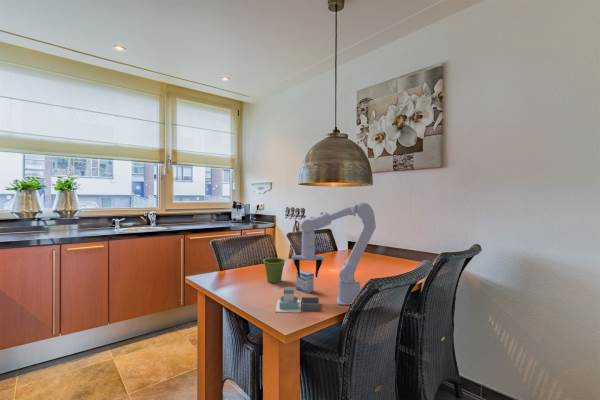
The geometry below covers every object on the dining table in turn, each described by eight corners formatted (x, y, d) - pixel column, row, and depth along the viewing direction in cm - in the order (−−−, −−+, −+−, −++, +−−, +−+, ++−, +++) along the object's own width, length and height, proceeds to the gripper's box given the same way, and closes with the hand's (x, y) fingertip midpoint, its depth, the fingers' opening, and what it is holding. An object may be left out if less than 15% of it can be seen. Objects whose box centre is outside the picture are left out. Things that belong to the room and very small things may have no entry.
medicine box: (295, 289, 148) (295, 271, 148) (302, 287, 151) (302, 270, 151) (307, 293, 142) (307, 275, 142) (313, 291, 145) (314, 273, 145)
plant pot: (258, 282, 158) (258, 261, 158) (271, 277, 168) (271, 257, 168) (277, 286, 152) (278, 263, 152) (289, 280, 163) (289, 259, 163)
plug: (293, 303, 127) (293, 287, 127) (293, 307, 123) (293, 290, 123) (284, 303, 127) (284, 287, 127) (283, 307, 123) (283, 290, 123)
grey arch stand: (318, 303, 130) (318, 297, 130) (319, 310, 121) (319, 304, 121) (301, 302, 130) (301, 297, 130) (301, 310, 121) (301, 304, 121)
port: (300, 300, 132) (300, 294, 132) (300, 312, 119) (300, 305, 119) (277, 300, 132) (277, 293, 132) (275, 312, 119) (275, 305, 119)
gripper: (291, 247, 130) (291, 278, 130) (325, 248, 130) (324, 279, 130) (291, 244, 137) (291, 274, 137) (323, 245, 137) (323, 274, 137)
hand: (307, 276), depth 134 cm, fingers open, 7 cm apart
